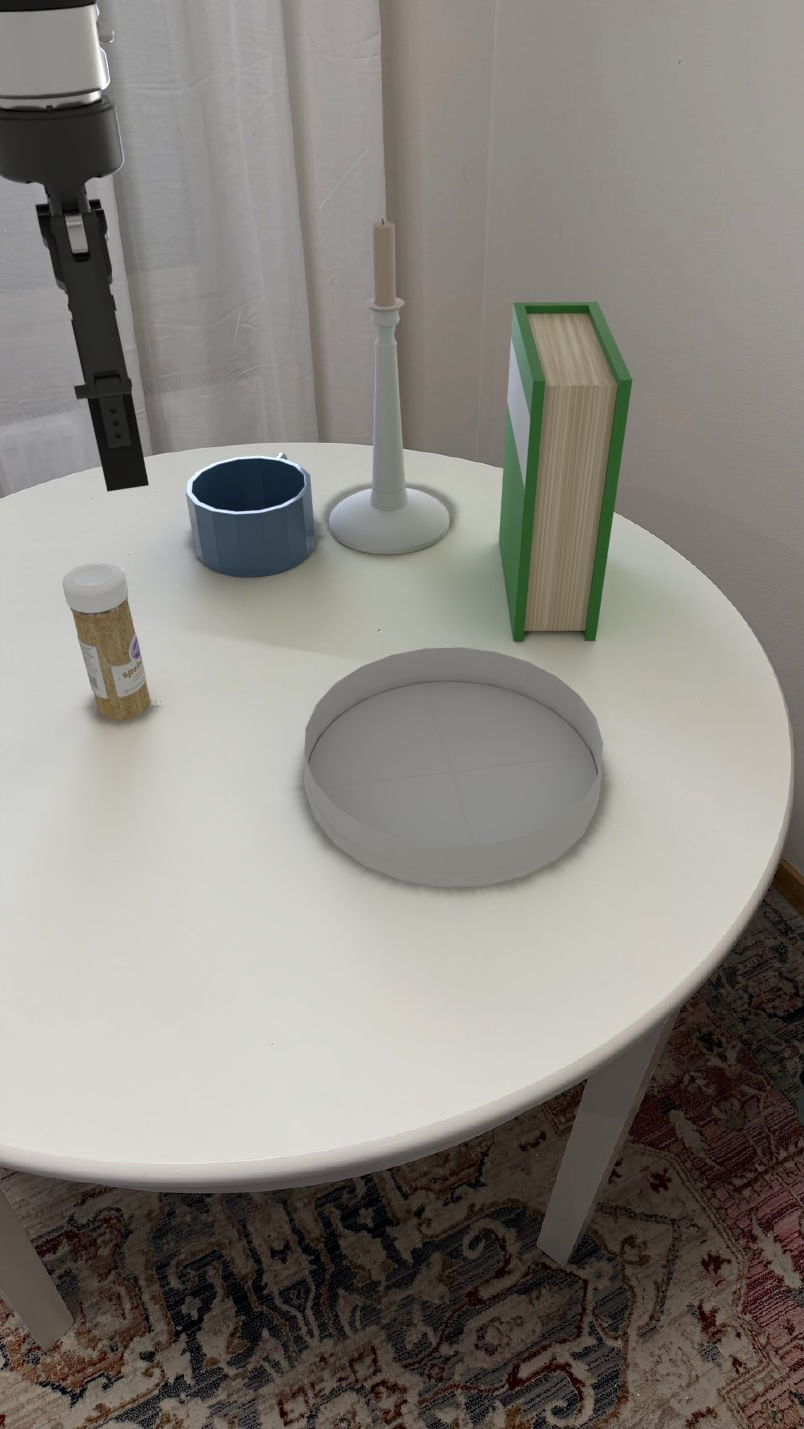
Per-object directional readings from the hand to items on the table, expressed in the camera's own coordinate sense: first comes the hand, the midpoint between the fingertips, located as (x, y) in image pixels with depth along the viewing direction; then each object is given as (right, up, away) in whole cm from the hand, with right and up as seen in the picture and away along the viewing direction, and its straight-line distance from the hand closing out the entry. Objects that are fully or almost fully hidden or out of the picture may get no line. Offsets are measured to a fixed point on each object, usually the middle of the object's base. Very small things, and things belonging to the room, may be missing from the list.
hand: (117, 444), depth 71 cm
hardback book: (+34, -7, +26) cm, 43 cm away
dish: (+24, -25, +5) cm, 35 cm away
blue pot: (+6, -1, +34) cm, 34 cm away
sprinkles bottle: (-3, -19, +12) cm, 23 cm away
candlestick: (+19, +1, +36) cm, 41 cm away
